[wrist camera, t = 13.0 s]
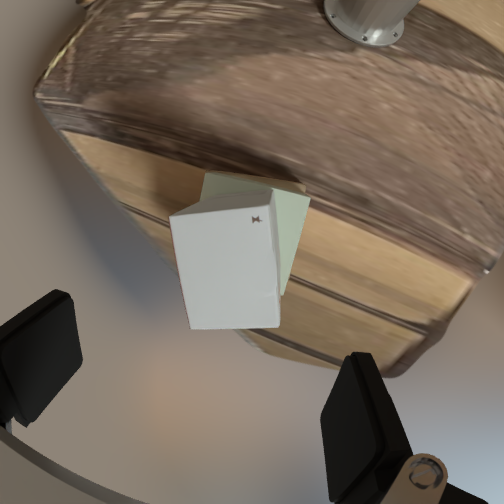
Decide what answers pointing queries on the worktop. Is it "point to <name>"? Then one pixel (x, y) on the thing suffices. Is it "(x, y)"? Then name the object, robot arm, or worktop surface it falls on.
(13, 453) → the robot arm
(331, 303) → the worktop surface
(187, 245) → the small box
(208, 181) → the tower top
